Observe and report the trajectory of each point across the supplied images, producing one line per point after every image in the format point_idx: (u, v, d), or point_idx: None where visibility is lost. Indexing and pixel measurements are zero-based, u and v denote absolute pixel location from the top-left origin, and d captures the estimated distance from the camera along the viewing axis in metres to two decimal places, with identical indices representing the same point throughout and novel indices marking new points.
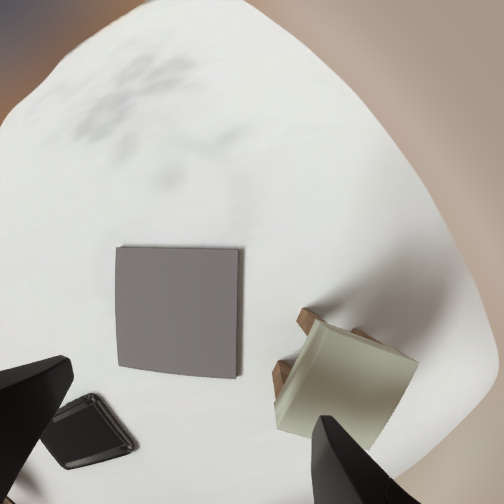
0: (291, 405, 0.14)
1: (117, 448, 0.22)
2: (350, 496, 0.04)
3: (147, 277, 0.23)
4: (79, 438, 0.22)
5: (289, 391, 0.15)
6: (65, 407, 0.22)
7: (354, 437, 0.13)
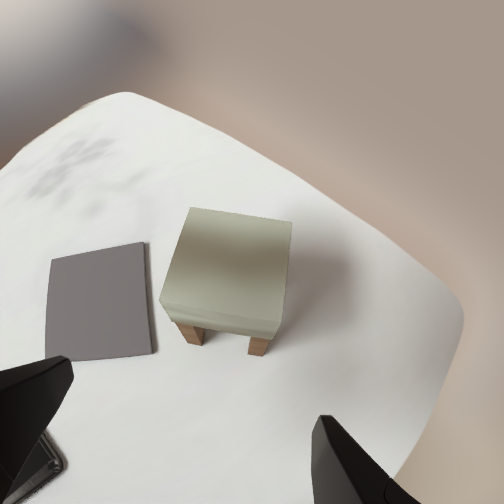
0: (168, 271, 0.15)
1: (45, 467, 0.14)
2: (350, 496, 0.04)
3: (73, 276, 0.24)
4: None
5: None
6: None
7: (251, 303, 0.14)
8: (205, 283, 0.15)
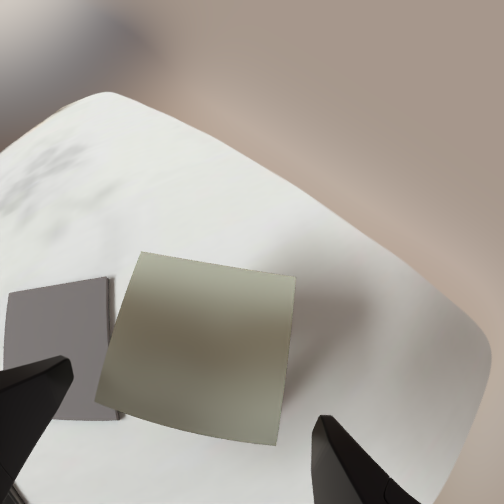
0: (106, 357, 0.09)
1: None
2: (350, 496, 0.04)
3: (30, 315, 0.18)
4: None
5: None
6: None
7: (230, 418, 0.08)
8: (159, 383, 0.09)
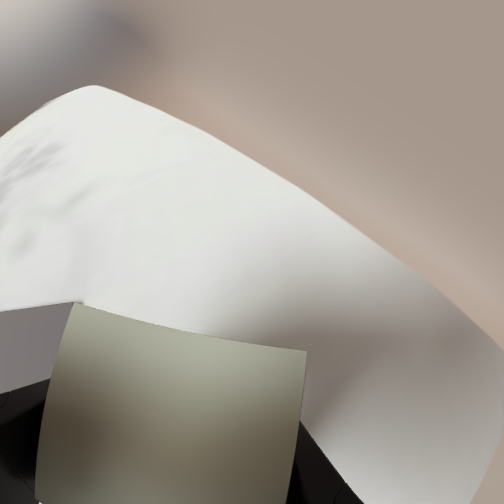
0: (38, 451, 0.04)
1: None
2: (299, 498, 0.04)
3: None
4: None
5: None
6: None
7: None
8: (105, 497, 0.04)
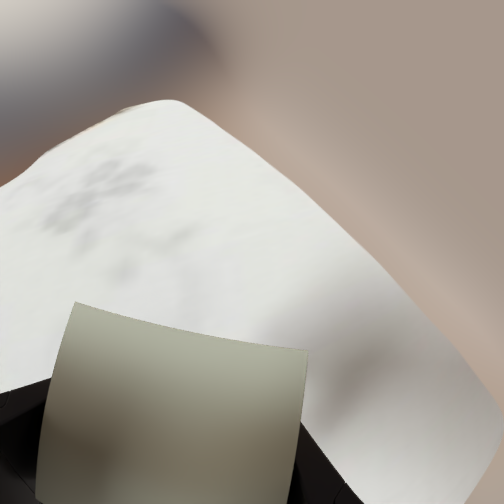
0: (39, 451, 0.04)
1: None
2: (299, 498, 0.04)
3: None
4: None
5: None
6: None
7: None
8: (106, 497, 0.04)
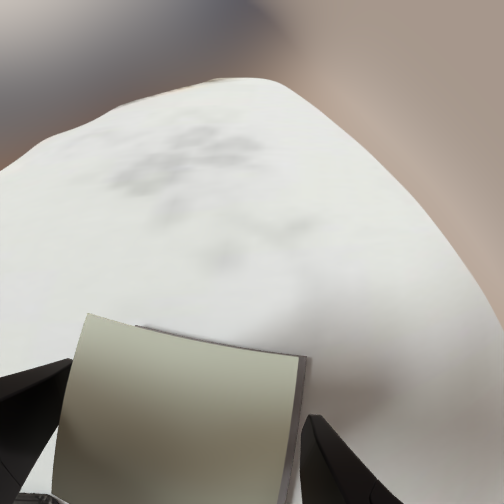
0: (56, 449, 0.05)
1: None
2: (335, 497, 0.04)
3: None
4: None
5: None
6: None
7: None
8: (118, 489, 0.05)
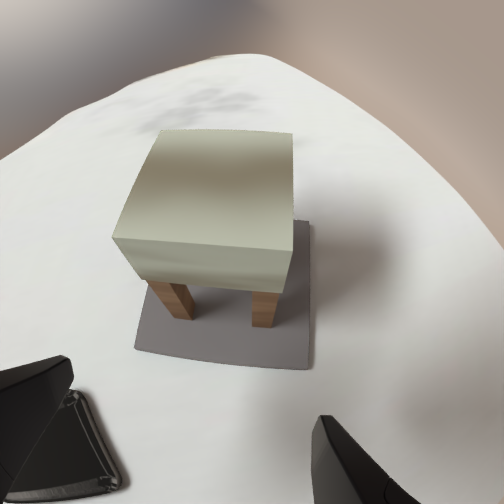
0: (127, 199, 0.10)
1: (93, 480, 0.11)
2: (350, 496, 0.04)
3: None
4: (35, 457, 0.11)
5: None
6: None
7: (244, 227, 0.10)
8: (176, 208, 0.10)
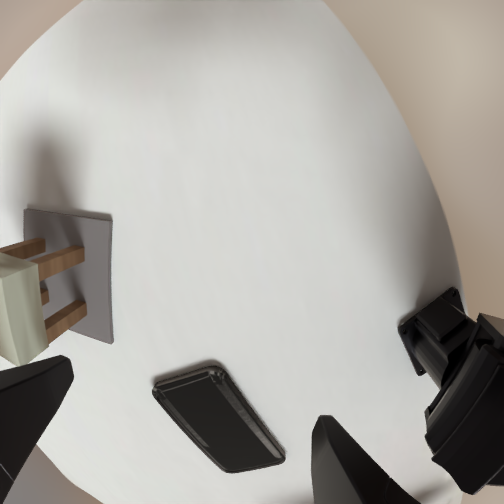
0: (6, 359, 0.13)
1: (219, 387, 0.22)
2: (350, 496, 0.04)
3: None
4: (220, 427, 0.23)
5: None
6: (179, 425, 0.24)
7: None
8: (1, 333, 0.12)
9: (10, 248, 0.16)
